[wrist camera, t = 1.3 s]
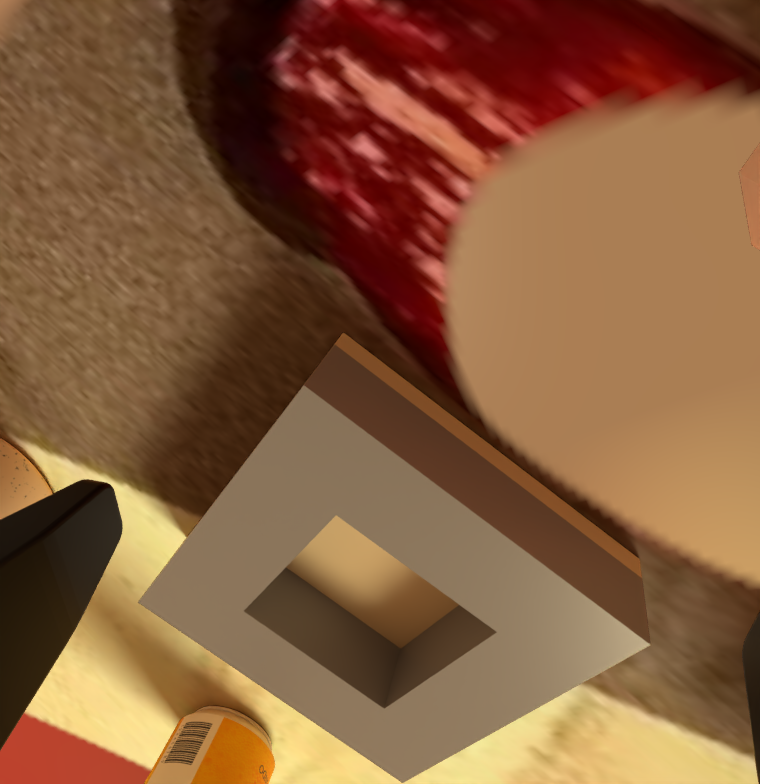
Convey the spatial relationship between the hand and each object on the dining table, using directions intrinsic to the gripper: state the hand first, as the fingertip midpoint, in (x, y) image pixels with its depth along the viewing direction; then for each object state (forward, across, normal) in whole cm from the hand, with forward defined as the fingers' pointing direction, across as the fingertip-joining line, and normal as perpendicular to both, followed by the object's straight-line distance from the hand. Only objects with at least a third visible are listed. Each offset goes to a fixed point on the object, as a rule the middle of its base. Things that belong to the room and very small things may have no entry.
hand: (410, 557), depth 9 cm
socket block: (+13, +2, +14) cm, 19 cm away
